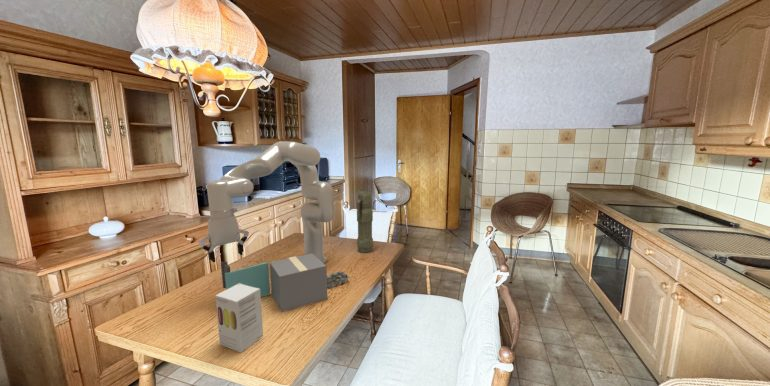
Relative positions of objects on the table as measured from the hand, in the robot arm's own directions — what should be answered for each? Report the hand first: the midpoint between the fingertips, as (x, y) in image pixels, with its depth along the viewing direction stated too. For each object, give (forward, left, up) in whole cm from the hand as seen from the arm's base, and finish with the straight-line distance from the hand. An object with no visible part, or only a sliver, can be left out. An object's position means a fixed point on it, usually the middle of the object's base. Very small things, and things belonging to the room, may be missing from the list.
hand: (227, 257), depth 120 cm
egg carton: (+5, +41, -19) cm, 46 cm away
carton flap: (-1, +6, -18) cm, 19 cm away
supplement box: (+27, 0, -19) cm, 33 cm away
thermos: (-23, +72, -19) cm, 78 cm away
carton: (+9, +24, -19) cm, 32 cm away
